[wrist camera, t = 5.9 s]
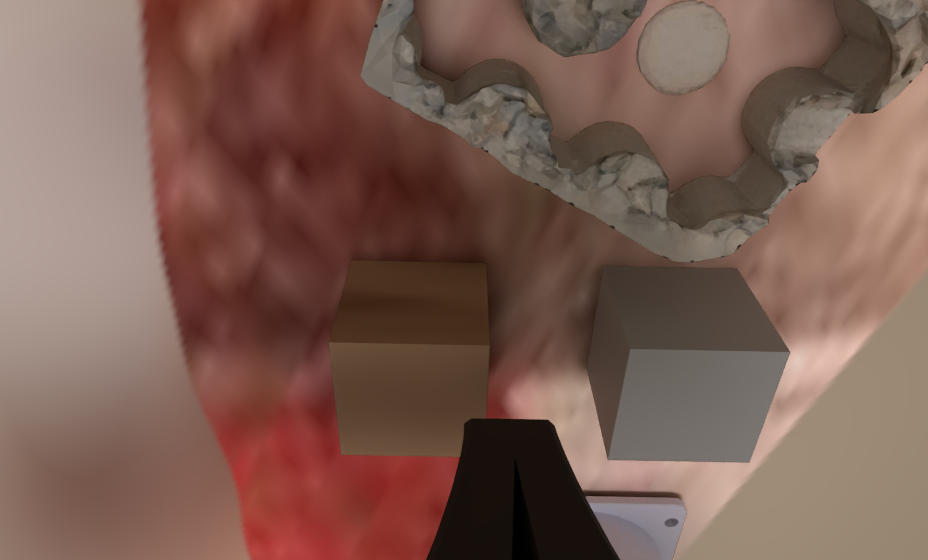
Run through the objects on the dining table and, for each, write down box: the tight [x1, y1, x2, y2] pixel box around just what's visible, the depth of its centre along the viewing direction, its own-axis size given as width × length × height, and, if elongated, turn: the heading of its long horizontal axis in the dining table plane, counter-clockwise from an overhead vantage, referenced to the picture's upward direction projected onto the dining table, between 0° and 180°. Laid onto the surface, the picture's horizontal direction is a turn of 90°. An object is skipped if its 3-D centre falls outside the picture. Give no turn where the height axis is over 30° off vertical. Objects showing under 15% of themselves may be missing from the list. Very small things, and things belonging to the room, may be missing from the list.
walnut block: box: [329, 260, 490, 457], centre depth 19 cm, size 4×4×4 cm
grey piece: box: [361, 0, 928, 262], centre depth 15 cm, size 11×8×4 cm
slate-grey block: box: [587, 266, 790, 463], centre depth 19 cm, size 4×4×4 cm
